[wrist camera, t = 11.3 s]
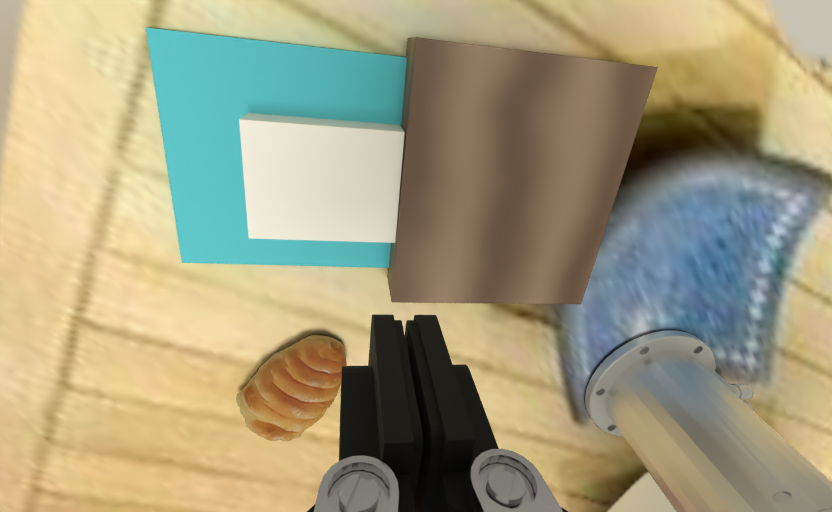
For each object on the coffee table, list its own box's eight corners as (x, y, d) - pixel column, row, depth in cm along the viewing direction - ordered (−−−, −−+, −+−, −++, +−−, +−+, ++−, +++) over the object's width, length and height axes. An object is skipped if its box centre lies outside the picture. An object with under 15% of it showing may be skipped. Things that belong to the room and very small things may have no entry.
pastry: (296, 312, 32) (290, 344, 29) (368, 349, 35) (370, 382, 31) (234, 392, 35) (222, 430, 31) (305, 421, 37) (301, 458, 34)
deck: (622, 64, 27) (657, 67, 24) (559, 280, 34) (581, 304, 31) (407, 38, 25) (416, 37, 22) (387, 277, 32) (391, 302, 28)
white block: (399, 124, 26) (404, 132, 24) (391, 227, 29) (395, 243, 27) (248, 112, 25) (239, 119, 23) (256, 223, 28) (248, 238, 26)
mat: (406, 57, 25) (406, 57, 25) (388, 265, 31) (388, 267, 31) (149, 27, 23) (145, 27, 22) (183, 259, 29) (181, 262, 28)
